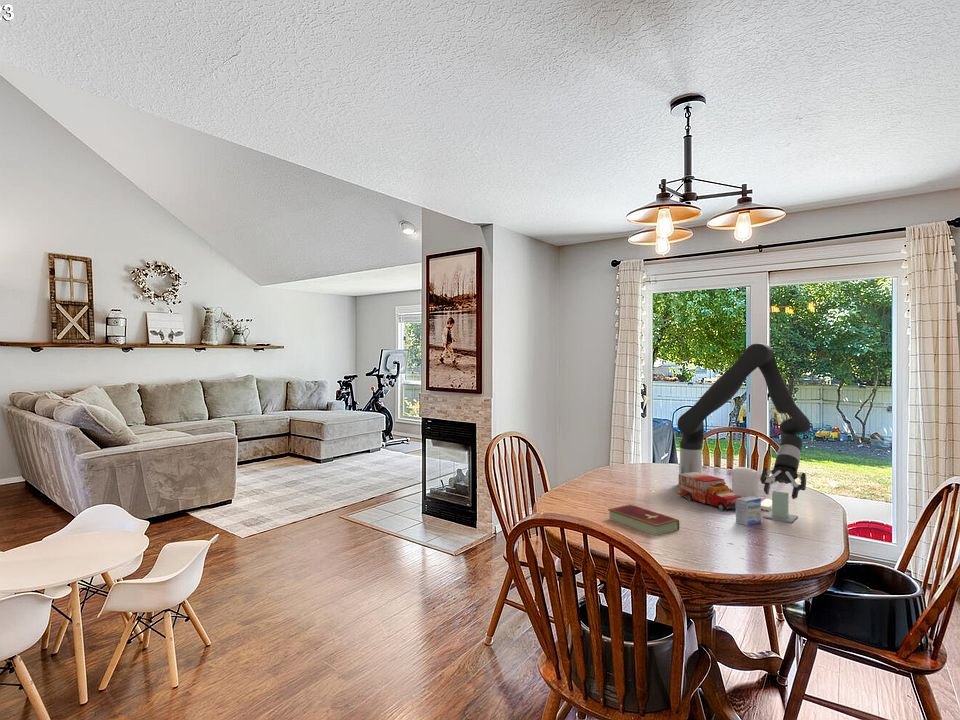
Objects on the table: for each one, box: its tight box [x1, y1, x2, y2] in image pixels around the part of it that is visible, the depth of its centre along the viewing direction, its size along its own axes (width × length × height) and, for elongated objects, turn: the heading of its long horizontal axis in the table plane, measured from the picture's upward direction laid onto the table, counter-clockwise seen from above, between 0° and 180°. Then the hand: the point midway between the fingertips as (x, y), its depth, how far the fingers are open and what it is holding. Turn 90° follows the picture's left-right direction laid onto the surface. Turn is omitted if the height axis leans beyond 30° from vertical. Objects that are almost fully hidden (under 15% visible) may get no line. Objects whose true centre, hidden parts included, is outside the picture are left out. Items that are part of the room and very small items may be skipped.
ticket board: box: [761, 498, 772, 512], centre depth 194 cm, size 5×12×2 cm, turn 136°
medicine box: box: [735, 496, 762, 527], centre depth 175 cm, size 8×4×9 cm, turn 117°
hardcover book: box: [607, 504, 680, 536], centre depth 174 cm, size 12×21×4 cm, turn 32°
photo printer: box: [731, 466, 760, 498], centre depth 208 cm, size 10×4×12 cm, turn 39°
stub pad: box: [762, 511, 799, 524], centre depth 181 cm, size 9×9×1 cm
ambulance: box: [677, 472, 743, 512], centre depth 200 cm, size 11×25×10 cm, turn 22°
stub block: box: [771, 490, 790, 518], centre depth 181 cm, size 4×3×8 cm, turn 45°
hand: (779, 495), depth 181 cm, fingers open, 8 cm apart
